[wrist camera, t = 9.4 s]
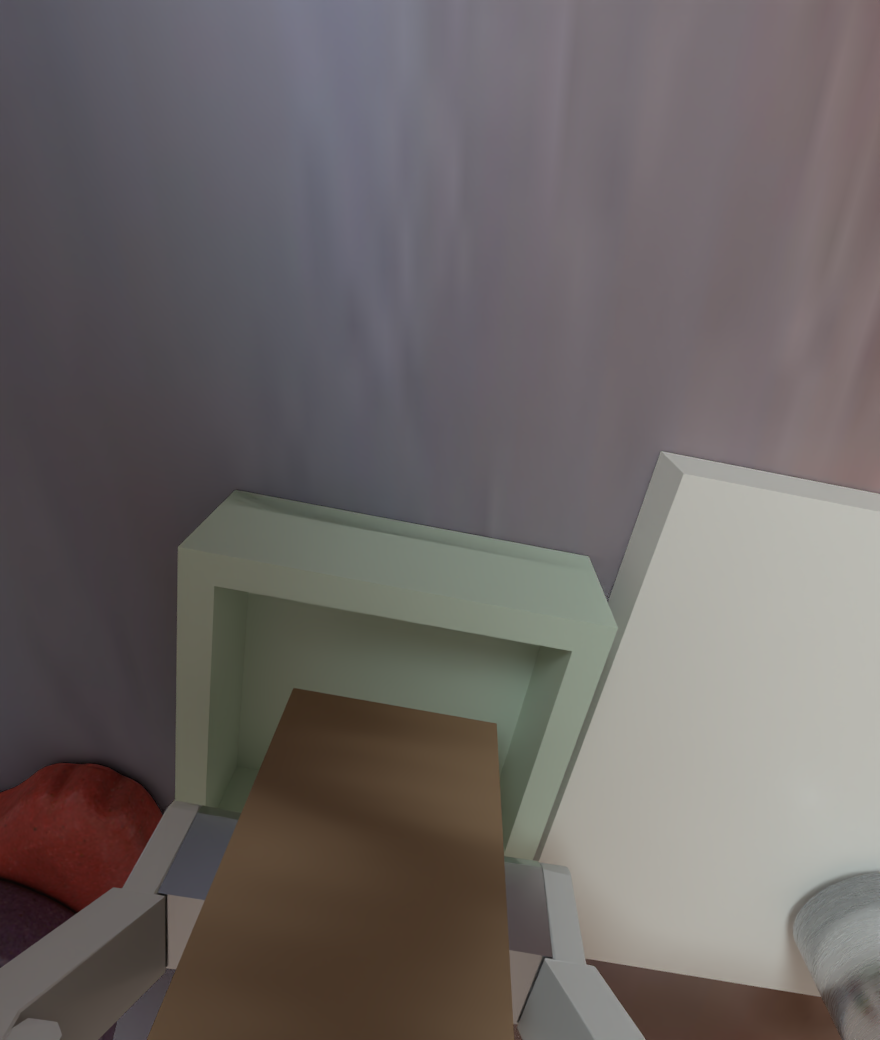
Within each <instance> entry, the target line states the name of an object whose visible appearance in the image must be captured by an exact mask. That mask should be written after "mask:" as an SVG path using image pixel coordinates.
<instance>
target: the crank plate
mask: <svg viewBox="0 0 880 1040" xmlns="http://www.w3.org/2000/svg"><path fill="white" fill-rule="evenodd" d="M608 605H609V607H610V609H611V612H612V614H613V617H614V619H615V622H616V624H617V626H618V630H617V633H616V635H615V638H614V641H613V643H612V646H611V649H610V652H609V654H608V657H607V660H606V663H605V665H604V668H603V671H602V673H601V676H600V679H599V682H598V684H597V687H596V690H595V692H594V695H593V698H592V701H591V703H590V706H589V709H588V712H587V714H586V717H585V720H584V722H583V725H582V728H581V731H580V733H579V736H578V739H577V741H576V744H575V747H574V750H573V752H572V755H571V758H570V761H569V763H568V766H567V769H566V771H565V774H564V777H563V780H562V782H561V785H560V788H559V790H558V793H557V796H556V799H555V801H554V804H553V807H552V810H551V812H550V815H549V818H548V820H547V823H546V826H545V829H544V831H543V834H542V837H541V839H540V842H539V845H538V848H537V850H536V853H535V856H534V859H533V860H534V861H538V862H539V863H540V862H541V863H547V864H554V865H560V866H566V867H568V869H569V871H570V873H571V877H572V883H573V889H574V895H575V901H576V907H577V913H578V918H579V924H580V930H581V936H582V942H583V948H584V954H585V959H591V960H597V961H604V962H610V963H616V964H622V965H628V966H634V967H640V968H646V969H653V970H659V971H665V972H671V973H677V974H683V975H689V976H695V977H701V978H708V979H714V980H720V981H726V982H732V983H738V984H744V985H750V986H757V987H763V988H769V989H775V990H781V991H787V992H793V993H799V994H806V995H812V996H818V997H821V995H820V993H819V991H818V989H817V987H816V985H815V983H814V980H813V978H812V976H811V974H810V972H809V970H808V968H807V966H806V964H805V962H804V960H803V958H802V955H801V953H800V951H799V949H798V947H797V945H796V943H795V940H794V937H793V925H794V921H795V919H796V916H797V915H798V913H799V911H800V910H801V908H802V907H803V906H804V905H805V904H806V903H807V902H808V901H809V900H810V899H811V898H812V897H814V896H815V895H816V894H817V893H819V892H821V891H822V890H824V889H825V888H827V887H829V886H831V885H833V884H836V883H838V882H841V881H843V880H846V879H849V878H853V877H856V876H861V875H865V874H872V873H880V494H877V493H872V492H867V491H862V490H857V489H852V488H847V487H842V486H837V485H831V484H826V483H821V482H816V481H811V480H806V479H801V478H796V477H791V476H786V475H780V474H775V473H770V472H765V471H760V470H755V469H750V468H745V467H740V466H735V465H730V464H724V463H719V462H714V461H709V460H704V459H699V458H694V457H689V456H684V455H679V454H673V453H668V452H663V451H661V452H660V455H659V458H658V461H657V464H656V466H655V469H654V472H653V475H652V478H651V481H650V484H649V486H648V489H647V492H646V495H645V498H644V501H643V503H642V506H641V509H640V512H639V515H638V518H637V520H636V523H635V526H634V529H633V532H632V535H631V538H630V540H629V543H628V546H627V549H626V552H625V555H624V557H623V560H622V563H621V566H620V569H619V572H618V575H617V577H616V580H615V583H614V586H613V589H612V592H611V594H610V597H609V600H608Z"/></svg>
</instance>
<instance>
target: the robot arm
mask: <svg viewBox="0 0 880 1040" xmlns="http://www.w3.org/2000/svg"><path fill="white" fill-rule="evenodd" d="M240 815H241V813H239V812H234V811H229V810H224V809H219V808H214V807H208V806H203V805H198V804H192V803H187V802H181V801H175V800H174V801H173V802H172V803H171V805H170V806H169V807H168V808H167V809H166V811H165V812H164V814H163V816H162V818H161V820H160V821H159V823H158V825H157V827H156V829H155V830H154V832H153V834H152V836H151V838H150V839H149V841H148V843H147V845H146V847H145V848H144V850H143V852H142V854H141V855H140V857H139V859H138V861H137V863H136V864H135V866H134V868H133V870H132V872H131V873H130V875H129V877H128V879H127V881H126V882H125V884H124V886H123V888H115V887H113V888H112V889H110V890H109V891H107V892H106V893H105V894H103V895H102V896H100V897H99V898H98V899H96V900H95V901H93V902H92V903H91V904H89V905H88V906H86V907H85V908H84V909H82V910H81V911H79V912H78V913H77V914H75V915H74V916H72V917H71V918H70V919H68V920H67V921H65V922H64V923H63V924H61V925H60V926H58V927H57V928H56V929H54V930H53V931H51V932H50V933H49V934H47V935H46V936H44V937H43V938H42V939H40V940H39V941H38V942H36V943H35V944H33V945H32V946H31V947H29V948H28V949H26V950H25V951H24V952H22V953H21V954H19V955H18V956H17V957H15V958H14V959H12V960H11V961H10V962H8V963H7V964H5V965H4V966H3V967H1V968H0V1040H98V1039H99V1038H100V1037H101V1036H102V1035H103V1034H104V1033H105V1032H106V1031H107V1030H108V1029H109V1028H110V1027H111V1026H112V1025H113V1024H114V1023H115V1022H116V1021H117V1020H118V1019H119V1018H120V1017H121V1016H122V1015H123V1014H124V1013H125V1012H126V1011H127V1010H128V1009H129V1008H130V1007H131V1006H132V1005H133V1004H134V1003H135V1002H136V1001H137V1000H138V999H139V998H140V997H141V996H142V995H143V994H144V993H145V992H146V991H147V990H148V989H149V988H150V987H151V986H152V985H153V984H154V983H155V982H156V981H157V980H158V979H159V978H160V977H161V976H162V975H163V974H164V973H165V971H166V968H168V969H176V968H177V966H178V963H179V961H180V959H181V956H182V954H183V951H184V949H185V947H186V944H187V942H188V939H189V937H190V935H191V932H192V930H193V927H194V925H195V923H196V920H197V918H198V915H199V913H200V911H201V908H202V906H203V903H204V901H205V899H206V896H207V894H208V891H209V889H210V887H211V884H212V882H213V880H214V877H215V875H216V872H217V870H218V868H219V865H220V863H221V860H222V858H223V856H224V853H225V851H226V848H227V846H228V844H229V841H230V839H231V836H232V834H233V832H234V829H235V827H236V824H237V822H238V820H239V817H240ZM504 865H505V883H506V901H507V919H508V937H509V955H510V973H511V991H512V1010H513V1024H517V1025H518V1026H517V1029H518V1031H519V1033H520V1035H521V1038H522V1040H646V1039H645V1038H644V1036H643V1035H642V1033H641V1032H640V1031H639V1029H638V1028H637V1026H636V1025H635V1023H634V1022H633V1021H632V1019H631V1018H630V1016H629V1015H628V1013H627V1012H626V1010H625V1009H624V1008H623V1006H622V1005H621V1003H620V1002H619V1000H618V999H617V997H616V996H615V995H614V993H613V992H612V990H611V989H610V987H609V986H608V984H607V983H606V982H605V980H604V979H603V977H602V976H601V974H600V973H599V971H598V970H597V969H596V967H595V966H591V965H587V964H586V960H585V954H584V948H583V942H582V936H581V930H580V924H579V918H578V913H577V907H576V901H575V895H574V889H573V883H572V877H571V873H570V871H569V869H568V867H566V866H560V865H554V864H547V863H541V862H540V863H539V862H538V861H534V860H527V859H521V858H514V857H507V856H504Z"/></svg>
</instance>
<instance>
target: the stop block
mask: <svg viewBox="0 0 880 1040" xmlns="http://www.w3.org/2000/svg"><path fill="white" fill-rule="evenodd" d="M147 1040H514V1028H513V1010H512V991H511V973H510V955H509V937H508V919H507V901H506V883H505V865H504V847H503V829H502V811H501V793H500V775H499V757H498V738H497V723H491V722H486V721H480V720H474V719H469V718H463V717H457V716H451V715H446V714H440V713H434V712H429V711H423V710H417V709H412V708H406V707H400V706H394V705H389V704H383V703H377V702H372V701H366V700H360V699H355V698H349V697H343V696H337V695H332V694H326V693H320V692H315V691H309V690H303V689H298V688H293V690H292V692H291V695H290V697H289V700H288V702H287V704H286V707H285V709H284V712H283V714H282V716H281V719H280V721H279V724H278V726H277V728H276V731H275V733H274V736H273V738H272V740H271V743H270V745H269V748H268V750H267V752H266V755H265V757H264V760H263V762H262V764H261V767H260V769H259V772H258V774H257V776H256V779H255V781H254V784H253V786H252V788H251V791H250V793H249V796H248V798H247V800H246V803H245V805H244V808H243V810H242V812H241V815H240V817H239V820H238V822H237V824H236V827H235V829H234V832H233V834H232V836H231V839H230V841H229V844H228V846H227V848H226V851H225V853H224V856H223V858H222V860H221V863H220V865H219V868H218V870H217V872H216V875H215V877H214V880H213V882H212V884H211V887H210V889H209V891H208V894H207V896H206V899H205V901H204V903H203V906H202V908H201V911H200V913H199V915H198V918H197V920H196V923H195V925H194V927H193V930H192V932H191V935H190V937H189V939H188V942H187V944H186V947H185V949H184V951H183V954H182V956H181V959H180V961H179V963H178V966H177V968H176V971H175V973H174V975H173V978H172V980H171V983H170V985H169V987H168V990H167V992H166V995H165V997H164V999H163V1002H162V1004H161V1007H160V1009H159V1011H158V1014H157V1016H156V1019H155V1021H154V1023H153V1026H152V1028H151V1031H150V1033H149V1035H148V1038H147Z"/></svg>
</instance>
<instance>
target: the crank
mask: <svg viewBox="0 0 880 1040" xmlns="http://www.w3.org/2000/svg"><path fill="white" fill-rule="evenodd" d="M793 937H794V940H795V943H796V945H797V947H798V949H799V951H800V953H801V955H802V958H803V960H804V962H805V964H806V966H807V968H808V970H809V972H810V974H811V976H812V978H813V980H814V983H815V985H816V987H817V989H818V991H819V993H820V995H821V997H822V999H823V1001H824V1003H825V1005H826V1008H827V1010H828V1012H829V1014H830V1016H831V1018H832V1020H833V1022H834V1024H835V1026H836V1028H837V1030H838V1032H839V1035H840V1037H841V1039H842V1040H880V873H872V874H865V875H861V876H856V877H853V878H849V879H846V880H843V881H841V882H838V883H836V884H833V885H831V886H829V887H827V888H825V889H824V890H822V891H821V892H819V893H817V894H816V895H815V896H814V897H812V898H811V899H810V900H809V901H808V902H807V903H806V904H805V905H804V906H803V907H802V908H801V910H800V911H799V913H798V915H797V916H796V919H795V921H794V925H793Z"/></svg>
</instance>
